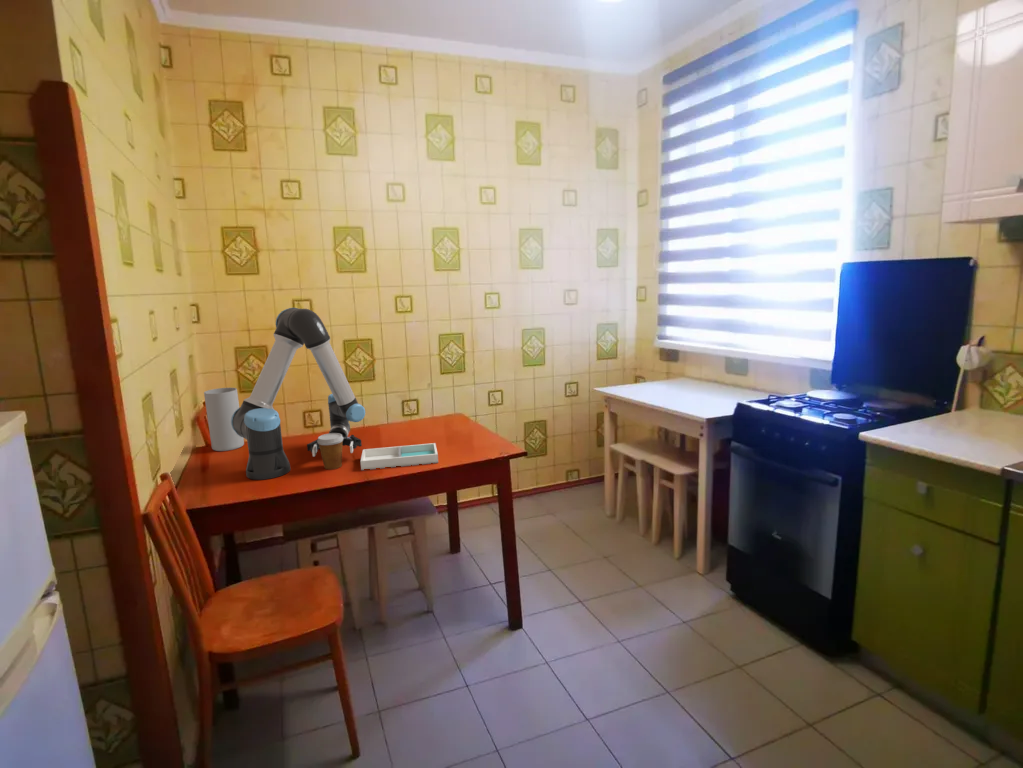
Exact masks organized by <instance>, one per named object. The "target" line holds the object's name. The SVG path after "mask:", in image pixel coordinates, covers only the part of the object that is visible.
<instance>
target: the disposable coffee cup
mask: <svg viewBox="0 0 1023 768" xmlns="http://www.w3.org/2000/svg"><path fill="white" fill-rule="evenodd" d="M317 439H318V440H317ZM317 439H316V440H317V442H318V444H319V447H320V449H319V451H320V454H321V459H322V463H323V466H324V467H323V468H324V469H325V470H336V469H339V467H340V468H341V467H342V466H343V464H342V462H343V445H342V443H343V439H344V438H343V437H342V434H339V433H329V432H328V433H325V434H324V433H323V434H321V435H320V436H319V435H318V437H317Z"/></svg>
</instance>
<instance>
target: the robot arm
mask: <svg viewBox="0 0 1023 768" xmlns="http://www.w3.org/2000/svg"><path fill="white" fill-rule="evenodd" d="M275 319H276V320H275V331H274V332H273V337H274V343H273V345H272V347H271V348H270V349H271V350H270V352H269V354H268V356H267V358H266V360H265V363H264V364H263V367H262V369H261V372H260V373H259V376H258V378H257V381H256V382H255V385H254V387H253V388H252V392H251V393H250V396H249V397H247V398H244V399H243V401H242V403H241V405H240V406H239V409H237V410H236V411H235V412H234V413H233V415H232V418H231V425H232V428H233V429H234V431H235V432H236V433H237V434H238V435H239V436H241V437H243V438H244V440H247V442H246V443H247V448H248V458H247V459H248V460H247V464H246V469H245V474H246V475H245V476H246V477H247V478H248V479H250V480H257V481H258V480H260V481H261V480H269V479H275V478H278V477H281V476H284V475H285V474H288V473H289V472H291V464H290V461H289V458H288V456H287V454H286V453H285V451H284V446H283V445H284V444H283V438H282V437H283V435H282V427H281V418H280V414H279V412H278V411H277V410H276V409H274V407H273V404H274V402H275V400H276V397H277V395H278V392H279V391H280V389H281V386H282V384H283V382H284V381H285V377H286V375H287V373H288V370H289V368H290V366H291V363H292V361H293V359H294V357H295V355H296V352H297V350H298V349H300V348H303V346H305V348H306V349H307V350H310V352H311V354H312V356H313V359H314V360H315V362H316V364H317V367H318V369H319V370H320V372H321V373H322V377H323V378H324V380H325V383H326V385H327V386H328V388H329V390H330V392H331V393H330V394H329V395H328V396H327V405H328V412H329V424H330V429H329V432H328V434H329V433H339V434H342V437H343V438H344V439H343V443H342V447H343V446H347V447H349V451H350V454H353V453H354V449H357V447H362V446H363V445H362V439H360V438H359V437H356V436H355V434H351V435H349V434H350V432H351V426H350V424H351V423H349V422H352V423H358V422H361V421H362V420H363V419H364V418H365V416H366V409H365V407H364V406H363V405H362V404H360V403H359V402H358V400H357V398H356V396H355V393H354V391H353V390H352V387H351V385H350V383H349V382H348V378H347V377H346V375H345V373H344V370H343V368H342V366H341V364H340V362H339V359H338V358H337V355H336V354H335V350H333V347H332V345H331V336H330V335H329V332H328V330H327V328H326V326H325V324H324V323H323V321H322V319H321V318H320V317H319V315H318V314H317V313H316V312H315V311H313V310H311V309H309V308H298V307H288V308H286V309H283V310H282V311H280V312H279V313H278V315H277V317H276V318H275ZM317 440H318V438H317V439H315V440H313V441H311V442H309V443H307V444H306V447H307V451H308V452H310V453H311V454H312V457H316V455H317V452H318V450H320V447H319V444H318V442H317Z"/></svg>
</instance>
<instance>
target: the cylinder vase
mask: <svg viewBox="0 0 1023 768" xmlns="http://www.w3.org/2000/svg"><path fill="white" fill-rule="evenodd" d="M238 394H239V393H238V389H237V387H219V388H211V389H208V390H205V391H204V392H203V396H204V402H205V410H206V416H207V423H208V430H209V438H210V444H211V449H212V450H213V451H217V452H227V451H233V450H237V449H239V448H242V447H243V446H245V441H244V440H245V438H243V437H241V436H239V435H238V434H237V433H236V432H235V431H234V429H233V428H232V425H231V418H232V415H233V413H234V412H235V411H236V410H237V409H239V408H240V403H239V395H238Z"/></svg>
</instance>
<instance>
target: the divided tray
mask: <svg viewBox="0 0 1023 768" xmlns="http://www.w3.org/2000/svg"><path fill="white" fill-rule="evenodd" d="M438 453H439V452H438V449H437V443H436V442H433V443H422V444H421V443H420V444H411V445H410V444H409V445H408V444H407V445H397V446H388V447H375V448H366V449H365V448H364V449H362V453H361V456H360V462H359V463H360V471H365V470H364V469H370V470H377V469H376V468H380V469H386V468H385V467H391V468H397V467H396V466H401V467H409V466H410V467H411V465H412V466H420V465H419V464H422V465H430V464H431V463H433V464H438V463H439V454H438ZM431 465H432V464H431Z"/></svg>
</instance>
